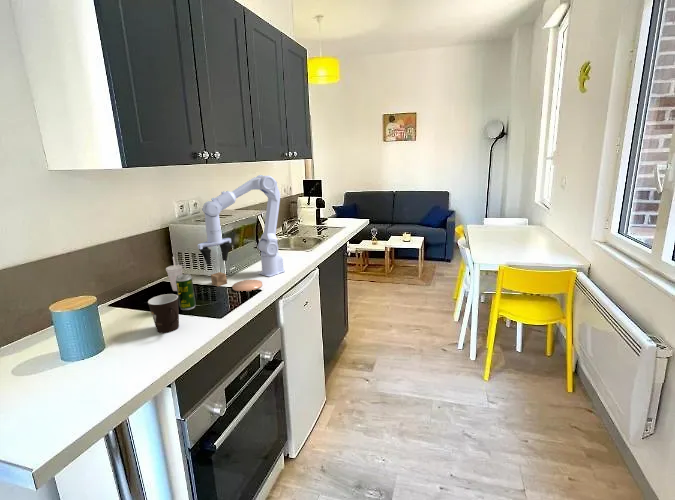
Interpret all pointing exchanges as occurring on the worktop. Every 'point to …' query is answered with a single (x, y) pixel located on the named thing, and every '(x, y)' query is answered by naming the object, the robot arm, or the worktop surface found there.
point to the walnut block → (218, 279)
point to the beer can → (185, 292)
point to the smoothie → (174, 274)
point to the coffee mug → (165, 312)
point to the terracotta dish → (247, 285)
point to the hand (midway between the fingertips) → (216, 262)
